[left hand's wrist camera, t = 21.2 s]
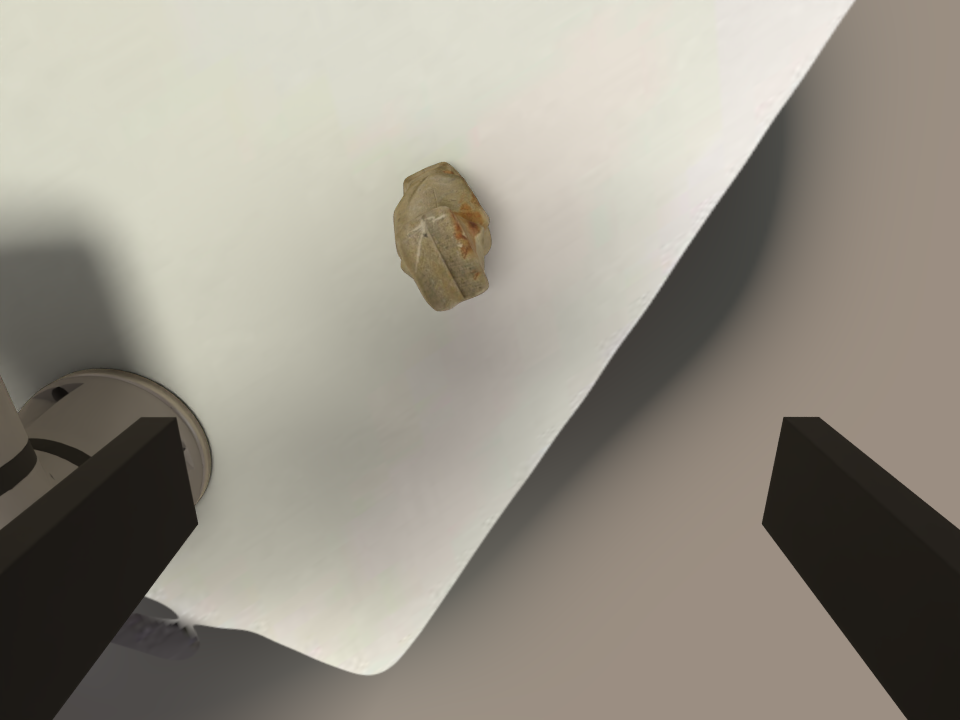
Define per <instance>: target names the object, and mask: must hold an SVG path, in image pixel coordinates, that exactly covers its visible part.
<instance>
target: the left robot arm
mask: <svg viewBox="0 0 960 720" xmlns="http://www.w3.org/2000/svg"><path fill="white" fill-rule="evenodd" d="M210 473H211V455H210V449H209V445H208V442H207V439H206V436H205V434H204V432H203V430H202V428H201V426H200V424H199V422H198V421H197V419H196V418H195V417H194V415H193V414H192V413H191V411H190V410H189V409H188V408H187V407H186V406H185V405H184V404H183V403H182V402H181V401H180V400H179V399H178V398H177V397H176V396H174V395H173V394H172V393H171V392H169V391H168V390H166V389H165V388H163V387H162V386H160V385H158V384H157V383H155V382H153V381H151V380H149V379H147V378H144V377H142V376H139V375H136V374H133V373H130V372H126V371H121V370H115V369H102V368H100V369H87V370H81V371H77V372H73V373H71V374H68V375H66V376H64V377H61V378H59V379H58V380H56V381H54V382H52V383H50V384H49V385H47V386H45V387H44V388H42V389H41V390H39V391H38V392H37V393H36V394H35V395H34V396H33V397H32V398H31V399H29V400H28V401H27V402H26V404H25V405H24V406H23V407H22V409H21V410H20V411H19V413H17V411H16V409H15V407H14V405H13V402H12V400H11V398H10V396H9V393H8V391H7V389H6V387H5V385H4V382H3V380H2V378H1V376H0V720H53V718H54V717H55V715H56V714H57V713H58V712H59V710H60V709H61V707H62V706H63V705H64V703H65V702H66V701H67V699H68V698H69V697H70V695H71V694H72V693H73V691H74V690H75V689H76V687H77V686H78V685H79V683H80V682H81V681H82V679H83V678H84V677H85V675H86V674H87V673H88V671H89V670H90V669H91V667H92V666H93V664H94V663H95V662H96V661H97V659H98V658H99V656H100V655H101V654H102V652H103V651H104V650H105V648H106V647H107V646H108V644H109V643H110V642H111V640H112V639H113V638H114V636H115V635H116V634H117V632H118V631H119V630H120V628H121V627H122V626H123V624H124V623H125V622H126V620H127V619H128V618H129V616H130V615H131V613H132V612H133V611H134V609H135V608H136V607H137V605H138V604H139V603H140V601H141V600H142V599H143V597H144V596H145V595H146V593H147V592H148V591H149V589H150V588H151V587H152V585H153V584H154V583H155V581H156V580H157V579H158V577H159V576H160V575H161V573H162V572H163V571H164V569H165V568H166V566H167V565H168V564H169V562H170V561H171V560H172V558H173V557H174V556H175V554H176V553H177V552H178V550H179V549H180V548H181V546H182V545H183V544H184V542H185V541H186V540H187V538H188V537H189V536H190V534H191V533H192V532H193V530H194V529H195V528H196V526H197V525H198V521H197V516H196V511H195V505H196V503H197V502H198V501H199V500H200V498H201V497H202V495H203V493H204V492H205V490H206V488H207V485H208V482H209V478H210ZM762 525H763V526H764V528H765V529H766V530H767V532H768V533H769V534H770V536H771V537H772V538H773V540H774V541H775V542H776V544H777V545H778V546H779V548H780V549H781V550H782V552H783V553H784V554H785V556H786V557H787V558H788V560H789V561H790V562H791V564H792V565H793V566H794V568H795V569H796V571H797V572H798V573H799V575H800V576H801V577H802V579H803V580H804V581H805V583H806V584H807V585H808V587H809V588H810V589H811V591H812V592H813V593H814V595H815V596H816V597H817V599H818V600H819V601H820V603H821V604H822V605H823V607H824V608H825V609H826V611H827V612H828V613H829V615H830V616H831V618H832V619H833V620H834V622H835V623H836V624H837V626H838V627H839V628H840V630H841V631H842V632H843V634H844V635H845V636H846V638H847V639H848V640H849V642H850V643H851V644H852V646H853V647H854V648H855V650H856V651H857V652H858V654H859V655H860V656H861V658H862V659H863V661H864V662H865V663H866V665H867V666H868V667H869V669H870V670H871V671H872V672H873V674H874V675H875V677H876V678H877V679H878V681H879V682H880V683H881V685H882V686H883V687H884V689H885V690H886V691H887V693H888V694H889V695H890V697H891V698H892V699H893V701H894V702H895V703H896V705H897V706H898V708H899V709H900V710H901V712H902V713H903V714H904V716H905V717H906V718H907V720H960V530H959V529H958V528H957V527H956V526H954V525H953V524H952V523H951V522H949V521H948V520H947V519H946V518H944V517H943V516H942V515H941V514H939V513H938V512H937V511H936V510H934V509H933V508H932V507H931V506H929V505H928V504H927V503H926V502H924V501H923V500H922V499H921V498H919V497H918V496H917V495H916V494H914V493H913V492H912V491H911V490H909V489H908V488H907V487H906V486H904V485H903V484H902V483H901V482H899V481H898V480H897V479H896V478H894V477H893V476H892V475H891V474H889V473H888V472H887V471H886V470H884V469H883V468H882V467H881V466H879V465H878V464H877V463H876V462H874V461H873V460H872V459H871V458H869V457H868V456H867V455H866V454H864V453H863V452H862V451H861V450H859V449H858V448H857V447H856V446H854V445H853V444H852V443H851V442H849V441H848V440H847V439H846V438H844V437H843V436H842V435H841V434H839V433H838V432H837V431H836V430H834V429H833V428H832V427H831V426H830V425H828V424H827V423H826V422H825V421H823V420H822V419H821V418H820V417H784V418H783V422H782V427H781V432H780V437H779V442H778V447H777V452H776V457H775V461H774V466H773V471H772V476H771V481H770V486H769V491H768V496H767V501H766V506H765V511H764V516H763V521H762Z"/></svg>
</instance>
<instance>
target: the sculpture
mask: <svg viewBox="0 0 960 720" xmlns="http://www.w3.org/2000/svg"><path fill="white" fill-rule="evenodd" d="M403 189H404V196H403V197H402V199H401V201H400V202H399V204H398V205H397V207H396V209H395V211H394V216H393V218H394V231H395V242H396V248H397V252H398V255H399V257H400V259H401V268H402V270H403V271H404V272H405V273H406V274H408V275H409V276H410V277H412V278H413V279H414V281H415V282H416V284H417V286H418V288H419V290H420V292H421V294H422V295H423V297H424V299H425V300H426V302H427V303H428V304H429V305H430V306H431V307H432V308H433V309H435V310H436V311H445V310H449V309H452V308H453V307H454V306H456V305H457V304H458V303H460V302H462V301H465V300H467V299H470V298H473V297H476V296H478V295H480V294H482V293H483V292H485V291H486V290H487V289H488V287H489V283H488V280H487V277H486V275H485V272H484V256H485V255H486V254H487V253H488V251H489V250H490V247H491V235H490V231H489V228H488V225H489V222H490V220H489V217H488V215H487V214H486V212H485V211H484V210H483V208H482V207H481V205H480V204H479V202H478V200H477V198H476V197H475V195H474V194H473V192H472V190H471V189H470V187H469V186H468V184H467V183H466V181H465V179H464V178H463V177H461V175H460V174H459V173H458V172H457V171H456V170H455V169H454V168H453V167H452V166H451V165H450V164H448V163H447V162H441V163H438V164H435V165H432V166H430V167H427V168H425V169H423V170H421V171H419V172H417V173H415V174H413V175H411V176H409V177H407V178H406V179H405V180H404V183H403Z"/></svg>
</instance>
